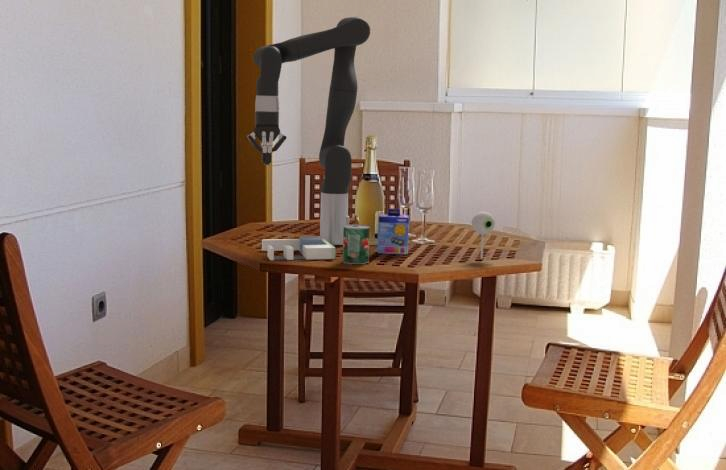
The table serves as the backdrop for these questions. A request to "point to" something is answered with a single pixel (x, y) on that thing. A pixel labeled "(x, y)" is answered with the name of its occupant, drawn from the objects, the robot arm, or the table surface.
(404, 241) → the ink cartridge box
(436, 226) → the table surface
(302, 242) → the block
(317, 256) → the white open shelf
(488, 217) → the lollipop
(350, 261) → the canned tomato
